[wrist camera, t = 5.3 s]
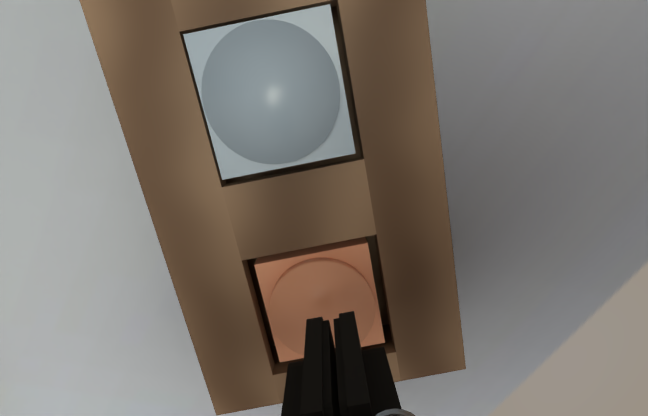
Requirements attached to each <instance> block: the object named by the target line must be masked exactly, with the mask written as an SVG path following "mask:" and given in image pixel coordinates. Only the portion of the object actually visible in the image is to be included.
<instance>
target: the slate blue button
mask: <svg viewBox="0 0 648 416" xmlns="http://www.w3.org/2000/svg"><path fill="white" fill-rule="evenodd" d="M183 36H184V40H185V43H186V47H187V51H188V54H189V58H190V62H191V66H192V69H193V73H194V77H195V80H196V84H197V88H198V91H199V95H200V99H201V103H202V106H203V110H204V114H205V117H206V121H207V125H208V129H209V132H210V136H211V140H212V143H213V147H214V151H215V154H216V158H217V162H218V166H219V169H220V173H221V177H222V180H224V179H229V178H234V177H239V176H244V175H249V174H254V173H259V172H264V171H270V170H275V169H280V168H285V167H290V166H295V165H300V164H305V163H310V162H315V161H320V160H325V159H330V158H335V157H340V156H345V155H350V154H355V147H354V141H353V136H352V130H351V124H350V118H349V112H348V106H347V100H346V95H345V89H344V83H343V77H342V71H341V65H340V59H339V54H338V48H337V42H336V36H335V30H334V24H333V18H332V13H331V7H330V4H328V5H323V6H318V7H314V8H309V9H304V10H299V11H294V12H289V13H285V14H280V15H275V16H270V17H265V18H260V19H256V20H251V21H246V22H241V23H236V24H231V25H227V26H222V27H217V28H212V29H207V30H202V31H198V32H193V33H188V34H183Z"/></svg>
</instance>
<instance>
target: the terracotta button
mask: <svg viewBox="0 0 648 416" xmlns="http://www.w3.org/2000/svg"><path fill="white" fill-rule="evenodd" d="M254 266H255V270H256V274H257V278H258V282H259V285H260V289H261V293H262V297H263V301H264V304H265V308H266V312H267V316H268V320H269V323H270V327H271V331H272V335H273V339H274V342H275V346H276V350H277V354H278V358H279V361H280V362H285V361H290V360H295V359H301V358H304V347H305V332H306V320H307V319H311V318H317V317H323V321H324V320H329V322H330V327H331V331H332V336H333V341H334V345H335V337H334V321H333V319H336V318H339V313H345V312H350V311H354V313H355V319H356V324H357V329H358V334H359V339H360V344H361V347H364V346H370V345H375V344H380V343H385V340H384V334H383V328H382V322H381V316H380V311H379V305H378V299H377V293H376V288H375V282H374V276H373V270H372V264H371V259H370V253H369V247H368V242H367V240H366V238H365V237H361V238H356V239H350V240H345V241H340V242H335V243H330V244H325V245H319V246H314V247H309V248H304V249H299V250H294V251H289V252H283V253H278V254H273V255H268V256H263V257H258V258H257V259H256V262H255V264H254Z"/></svg>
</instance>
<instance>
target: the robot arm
mask: <svg viewBox="0 0 648 416" xmlns="http://www.w3.org/2000/svg"><path fill="white" fill-rule="evenodd" d="M333 321H334V337H335V345H334V341H333V336H332V331H331V327H330V322H329V320H324V321H323V317H317V318H311V319H307V320H306V332H305V347H304V360H302V361H296V362H290V363H289V364H288V368H287V375H286V383H285V391H284V398H283V406H282V413H281V416H415V415H413V414H412V413H411V412H408V411H405V410H402V409H401V406H400V402H399V398H398V395H397V391H396V388H395V384H394V380H393V377H392V373H391V370H390V366H389V362H388V359H387V355H386V352H385V348H384V346H383V347H377V348H371V349H365V350H361V344H360V339H359V334H358V329H357V324H356V319H355V313H354V311H350V312H345V313H339V318H336V319H333Z"/></svg>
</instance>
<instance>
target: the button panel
mask: <svg viewBox="0 0 648 416" xmlns="http://www.w3.org/2000/svg"><path fill="white" fill-rule="evenodd" d="M80 3H81V6H82V9H83V12H84V15H85V18H86V21H87V24H88V27H89V30H90V33H91V36H92V39H93V42H94V46H95V49H96V52H97V55H98V58H99V61H100V64H101V67H102V70H103V73H104V76H105V79H106V82H107V85H108V88H109V91H110V94H111V97H112V100H113V103H114V106H115V109H116V112H117V115H118V118H119V121H120V124H121V127H122V130H123V133H124V136H125V139H126V142H127V145H128V149H129V152H130V155H131V158H132V161H133V164H134V167H135V170H136V173H137V176H138V179H139V182H140V185H141V188H142V191H143V194H144V197H145V200H146V203H147V206H148V209H149V212H150V215H151V218H152V221H153V224H154V227H155V230H156V233H157V236H158V239H159V242H160V245H161V248H162V252H163V255H164V258H165V261H166V264H167V267H168V270H169V273H170V276H171V279H172V282H173V285H174V288H175V291H176V294H177V297H178V300H179V303H180V306H181V309H182V312H183V315H184V318H185V321H186V324H187V327H188V330H189V333H190V336H191V339H192V342H193V345H194V348H195V351H196V355H197V358H198V361H199V364H200V367H201V370H202V373H203V376H204V379H205V382H206V385H207V388H208V391H209V394H210V397H211V400H212V403H213V406H214V409H215V412H216V415H221V414H226V413H231V412H237V411H242V410H247V409H253V408H258V407H264V406H269V405H274V404H280V403H283V398H284V391H285V383H286V375H287V368H288V364H289V363H290V362H296V361H302V360H304V358H301V359H295V360H290V361H285V362H280V361H279V358H278V354H277V350H276V346H275V342H274V339H273V335H272V331H271V327H270V323H269V320H268V316H267V312H266V308H265V304H264V301H263V297H262V293H261V289H260V285H259V282H258V278H257V274H256V270H255V266H254V264H255V262H256V259H257V258H258V257H263V256H268V255H273V254H278V253H283V252H289V251H294V250H299V249H304V248H309V247H314V246H319V245H325V244H330V243H335V242H340V241H345V240H350V239H356V238H361V237H365V238H366V240H367V242H368V247H369V253H370V259H371V264H372V270H373V276H374V282H375V288H376V293H377V299H378V305H379V311H380V316H381V322H382V328H383V334H384V340H385V343H380V344H375V345H370V346H364V347H361V350H365V349H371V348H377V347H383V346H384V348H385V352H386V355H387V359H388V362H389V366H390V370H391V373H392V377H393V380H394V382H398V381H403V380H408V379H414V378H419V377H425V376H430V375H435V374H441V373H446V372H451V371H457V370H462V369H466V366H465V356H464V347H463V338H462V329H461V320H460V311H459V302H458V293H457V283H456V274H455V265H454V256H453V247H452V238H451V229H450V219H449V210H448V201H447V192H446V183H445V174H444V165H443V155H442V146H441V137H440V128H439V119H438V110H437V101H436V91H435V82H434V73H433V64H432V55H431V46H430V37H429V28H428V18H427V9H426V0H80ZM328 4H330V7H331V13H332V18H333V24H334V30H335V36H336V42H337V48H338V54H339V59H340V65H341V71H342V77H343V83H344V89H345V95H346V100H347V106H348V112H349V118H350V124H351V130H352V136H353V141H354V147H355V154H350V155H345V156H340V157H335V158H330V159H325V160H320V161H315V162H310V163H305V164H300V165H295V166H290V167H285V168H280V169H275V170H270V171H264V172H259V173H254V174H249V175H244V176H239V177H234V178H229V179H224V180H222V177H221V173H220V169H219V166H218V162H217V158H216V154H215V151H214V147H213V143H212V140H211V136H210V132H209V129H208V125H207V121H206V117H205V114H204V110H203V106H202V103H201V99H200V95H199V91H198V88H197V84H196V80H195V77H194V73H193V69H192V66H191V62H190V58H189V54H188V51H187V47H186V43H185V40H184V36H183V34H188V33H193V32H198V31H202V30H207V29H212V28H217V27H222V26H227V25H231V24H236V23H241V22H246V21H251V20H256V19H260V18H265V17H270V16H275V15H280V14H285V13H289V12H294V11H299V10H304V9H309V8H314V7H318V6H323V5H328Z"/></svg>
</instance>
